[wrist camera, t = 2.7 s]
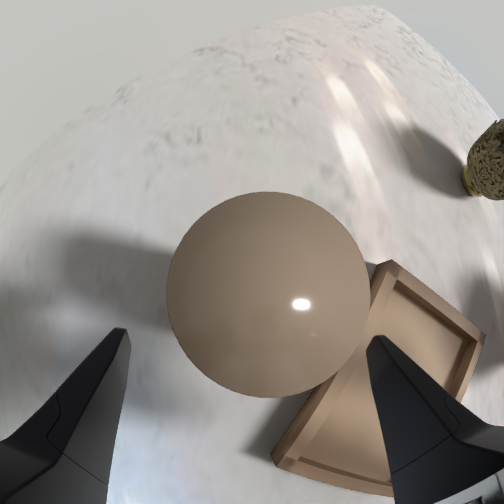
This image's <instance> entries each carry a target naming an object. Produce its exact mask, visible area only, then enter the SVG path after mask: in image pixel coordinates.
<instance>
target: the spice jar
mask: <svg viewBox="0 0 504 504" xmlns="http://www.w3.org/2000/svg"><path fill="white" fill-rule="evenodd" d="M167 307H168V314H169V319H170V322H171V325H172V329H173V332H174V334H175V336H176V338H177V340H178V342H179V345H180V346H181V348H182V349H183V351H184V352H185V354H186V355H187V357H188V358H189V359H190V360H191V362H192V363H193V364H194V365H195V366H196V367H197V368H198V369H199V370H200V371H201V372H202V373H203V374H205V375H206V376H207V377H208V378H210V379H211V380H213V381H214V382H216V383H217V384H219V385H221V386H223V387H225V388H227V389H229V390H231V391H234V392H237V393H240V394H244V395H247V396H253V397H260V398H277V397H286V396H291V395H295V394H299V393H302V392H304V391H307V390H309V389H312V388H314V387H316V386H317V385H319V384H321V383H323V382H324V381H326V380H327V379H328V378H330V377H331V376H332V375H334V374H335V373H336V372H337V371H338V370H339V369H340V368H341V367H342V366H343V365H344V364H345V363H346V362H347V360H348V359H349V358H350V357H351V355H352V354H353V352H354V351H355V349H356V347H357V346H358V344H359V342H360V340H361V337H362V335H363V333H364V330H365V327H366V323H367V320H368V315H369V309H370V283H369V277H368V272H367V268H366V265H365V262H364V259H363V256H362V254H361V252H360V250H359V248H358V246H357V244H356V242H355V241H354V239H353V238H352V236H351V234H350V233H349V232H348V231H347V230H346V228H345V227H344V226H343V225H342V224H341V223H340V222H339V221H338V220H337V219H336V218H335V217H334V216H333V215H331V214H330V213H329V212H327V211H326V210H325V209H323V208H322V207H320V206H318V205H316V204H315V203H313V202H311V201H308V200H306V199H304V198H301V197H298V196H294V195H291V194H286V193H279V192H256V193H249V194H244V195H240V196H237V197H234V198H231V199H229V200H226V201H224V202H222V203H220V204H219V205H217V206H215V207H213V208H212V209H211V210H209V211H208V212H206V213H205V214H204V215H202V216H201V217H200V218H199V219H198V220H197V221H196V222H195V223H194V224H193V225H192V226H191V228H190V229H189V230H188V232H187V233H186V234H185V235H184V237H183V239H182V240H181V242H180V244H179V246H178V247H177V249H176V252H175V254H174V257H173V259H172V262H171V266H170V270H169V273H168V281H167Z"/></svg>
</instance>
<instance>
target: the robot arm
mask: <svg viewBox="0 0 504 504" xmlns="http://www.w3.org/2000/svg"><path fill="white" fill-rule="evenodd" d="M130 351H131V344H130V340H129V336H128V332H127V330H126V329H125V328H114V329H113V330H112V331H111V332H110V333H109V334H108V335H107V336H106V337H105V338H104V339H103V340H102V342H101V343H100V344H99V345H98V346H97V347H96V348H95V349H94V350H93V351H92V352H91V353H90V354H89V355H88V356H87V357H86V359H85V360H84V361H83V362H82V363H81V364H80V365H79V366H78V367H77V368H76V369H75V370H74V372H73V373H72V374H71V375H70V376H69V377H68V378H67V379H66V380H65V381H64V383H63V384H62V385H61V386H60V387H59V388H58V389H57V390H56V392H55V393H54V394H53V395H52V396H51V397H50V398H49V399H48V400H47V401H46V402H45V404H44V405H43V406H42V407H41V408H40V409H39V410H38V411H37V412H36V413H35V414H34V415H33V416H32V417H30V418H29V419H28V420H27V421H26V422H25V423H24V424H23V425H22V426H21V427H19V428H18V429H17V430H16V431H15V432H14V433H13V434H12V435H11V436H9V437H8V438H6V439H4V440H2V441H0V504H106V501H107V492H108V486H107V485H108V484H109V476H110V470H111V463H112V457H113V451H114V445H115V439H116V434H117V429H118V423H119V418H120V414H121V409H122V404H123V399H124V395H125V390H126V384H127V375H128V366H129V358H130ZM366 358H367V364H368V371H369V377H370V384H371V389H372V393H373V397H374V401H375V405H376V409H377V414H378V418H379V422H380V427H381V431H382V436H383V440H384V445H385V450H386V455H387V460H388V465H389V470H390V474H391V475H390V477H391V482H392V488H393V494H394V500H395V504H504V426H494V425H490V424H487V423H485V422H484V421H482V420H481V419H480V418H479V417H477V416H476V415H475V414H473V413H472V412H471V411H470V410H468V409H467V408H466V407H464V406H463V405H462V404H461V403H460V402H458V401H457V400H456V399H455V398H454V397H453V396H451V395H450V394H449V393H448V392H447V391H446V390H445V389H443V387H442V386H441V385H439V384H438V383H437V382H436V381H435V380H434V379H433V378H432V377H431V376H430V375H429V374H428V373H426V372H425V371H424V370H423V369H422V368H421V367H420V366H419V365H418V364H417V363H415V362H414V361H413V360H412V359H411V358H410V357H409V356H408V355H407V354H405V353H404V352H403V351H402V350H401V349H400V348H399V347H398V346H397V345H395V344H394V343H393V342H392V341H391V340H390V339H389V338H388V337H386V336H385V335H375V336H374V337H373V338H372V340H371V342H370V343H369V345H368V347H367V349H366Z"/></svg>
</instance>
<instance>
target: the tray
mask: <svg viewBox="0 0 504 504" xmlns="http://www.w3.org/2000/svg"><path fill="white" fill-rule="evenodd" d="M375 335H385V336H386V337H388V338H389V339H390V340H391V341H392V342H393V343H394V344H395V345H397V346H398V347H399V348H400V349H401V350H402V351H403V352H404V353H405V354H407V355H408V356H409V357H410V358H411V359H412V360H413V361H414V362H415V363H417V364H418V365H419V366H420V367H421V368H422V369H423V370H424V371H425V372H426V373H428V374H429V375H430V376H431V377H432V378H433V379H434V380H435V381H436V382H437V383H438V384H439V385H441V386H442V387H443V389H445V390H446V391H447V392H448V393H449V394H450V395H451V396H453V397H454V398H455V399H456V400H457V401H458V402H460V403H461V400H462V398H463V396H464V394H465V391H466V389H467V387H468V384H469V382H470V379H471V377H472V374H473V372H474V369H475V366H476V364H477V361H478V358H479V355H480V352H481V349H482V346H483V343H484V340H485V337H486V335H485V334H484V333H483V332H482V331H481V330H480V329H478V328H477V327H476V326H475V325H474V324H473V323H471V322H470V321H469V320H468V319H467V318H466V317H464V316H463V315H462V314H461V313H460V312H458V311H457V310H456V309H455V308H454V307H452V306H451V305H450V304H449V303H448V302H446V301H445V300H444V299H443V298H441V297H440V296H439V295H438V294H436V293H435V292H434V291H433V290H431V289H430V288H429V287H428V286H426V285H425V284H424V283H422V282H421V281H420V280H419V279H417V278H416V277H415V276H413V275H412V274H411V273H409V272H408V271H407V270H405V269H404V268H403V267H401V266H400V265H399V264H397V263H396V262H395V261H393V260H392V259H391V260H388V261H386V262H383V263H380V264H377V267H376V269H375V271H374V274H373V276H372V278H371V280H370V309H369V315H368V320H367V323H366V327H365V330H364V333H363V335H362V337H361V340H360V342H359V344H358V346H357V347H356V349H355V351H354V352H353V354H352V355H351V357H350V358H349V359H348V360H347V362H346V363H345V364H344V365H343V366H342V367H341V368H340V369H339V370H338V371H337V372H336V373H335V374H334V375H332V376H331V377H330V378H328V379H327V380H326V381H324V382H323V383H321V384H319V385H317V386H316V387H315V388H314V389H313V391H312V393H311V394H310V396H309V398H308V399H307V401H306V402H305V404H304V406H303V407H302V409H301V410H300V412H299V413H298V415H297V416H296V418H295V419H294V421H293V423H292V424H291V426H290V427H289V429H288V430H287V431H286V433H285V434H284V436H283V437H282V439H281V440H280V442H279V443H278V444H277V446H276V447H275V449H274V450H273V451H272V453H271V454H270V455H271V457H272V459H273V461H274V463H275V465H276V467H278V468H281V469H283V470H286V471H289V472H292V473H295V474H298V475H301V476H304V477H307V478H311V479H314V480H317V481H321V482H324V483H328V484H331V485H335V486H339V487H343V488H347V489H351V490H356V491H361V492H365V493H370V494H376V495H381V496H387V497H394V494H393V488H392V482H391V477H390V475H391V474H390V470H389V465H388V460H387V455H386V450H385V445H384V440H383V436H382V431H381V427H380V422H379V418H378V414H377V409H376V405H375V401H374V397H373V393H372V389H371V384H370V377H369V371H368V364H367V358H366V349H367V347H368V345H369V343H370V342H371V340H372V338H373V337H374V336H375Z"/></svg>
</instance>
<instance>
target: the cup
mask: <svg viewBox="0 0 504 504" xmlns="http://www.w3.org/2000/svg"><path fill="white" fill-rule="evenodd" d="M496 122H497V120H495V123H493V124H492V125H491V126H490V127H489V128H488V129H487V130H486V131H485V132H484V133H483V134H482V135H481V136H480V137H479V138H478V140H477V141H476V142H475V143H474V144H473V146H472V147H471V149H470V151H469V153H468V157H467V165H465V166H464V168H463V170H462V172H461V178H462V182H463V184H464V187H465V188H466V190H467V191H468V192H469V193H470V194H471V195H472V196H475V197H481V196H482V195H483V196H485V197H486V198H488V199H491V200H504V119H501V120H500V121H499V122H498V123H496Z"/></svg>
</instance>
